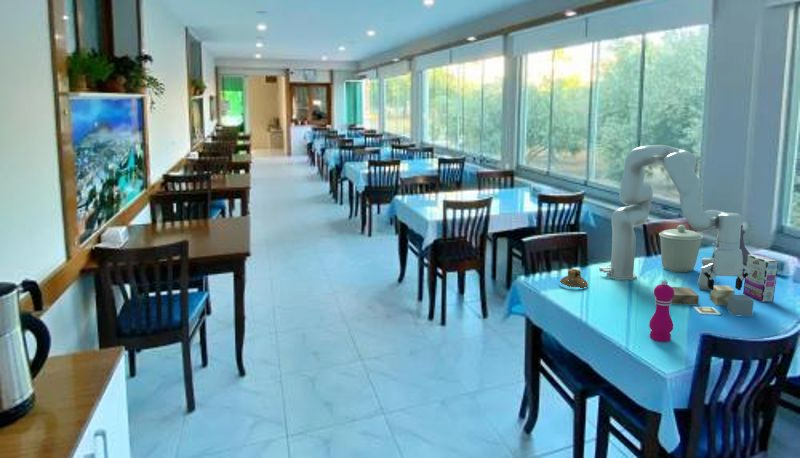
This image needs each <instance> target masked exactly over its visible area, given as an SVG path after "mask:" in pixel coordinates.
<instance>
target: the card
mask: <svg viewBox="0 0 800 458" xmlns="http://www.w3.org/2000/svg"><path fill="white" fill-rule="evenodd" d="M692 308H693V309H694V310H695V311H696V312H697V313H698V314H699V315H706V316H707V315H710V316H711V315H714V316H721V312H719V311H718V310H717V309H716V308H715V307H713V306H712V307H711V306H693V307H692Z"/></svg>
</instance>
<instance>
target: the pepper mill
mask: <svg viewBox="0 0 800 458" xmlns="http://www.w3.org/2000/svg"><path fill="white" fill-rule="evenodd" d="M672 287H673V286H671V285H669V283H668V281H667V280H666V279H663V280H662V281H661V284H657V285H656V286H655V287H654V289H653V295H654V297H655V298H654V303H655V311H654V313H653V315H652V316H651V318H650V319H649V323H648V328H649V329H650V330H651V331H650V332H649V338H650V339H651V340H653V341H656V342H658V343H659V342H660V343H667V342H670V341H671V340H672V339H671V338H672V334H671V333H672V332H673V331H674V323H673V320H672V317H671V314H670V307H671V306H672V305H673V304H672V303H671V302H672V300H671V298H673V296H674V290H673V288H672Z"/></svg>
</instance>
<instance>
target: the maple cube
mask: <svg viewBox="0 0 800 458" xmlns="http://www.w3.org/2000/svg"><path fill="white" fill-rule="evenodd" d="M735 293H736V291H735V289H733V288H732V287H731V286H730V285H718V284H714V288H713V290H711V289H710V298H709V300H710V301H711V302H712V303H713V304H714V305H715V306H728V297H729V295H735Z"/></svg>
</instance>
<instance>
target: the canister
mask: <svg viewBox="0 0 800 458" xmlns="http://www.w3.org/2000/svg"><path fill="white" fill-rule="evenodd" d="M658 235H659V236H660V255H661V265H662V267H663V268H664V269H665V270H667V271H669V272H674V273H675V272H676V273H689V272H692V271H693V270H694V269H695V267H696V263H697V260H698V256H699V253H700V252H699V250H700V246H701V242H702V239H703V238H704V236H703V235H702V234H701V233H699V232H698V231H696V230H690V229H686V226H685V225H684V224H679V225H677V227H676V228H671V229H664V230H662V231H661V232H659V233H658Z"/></svg>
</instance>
